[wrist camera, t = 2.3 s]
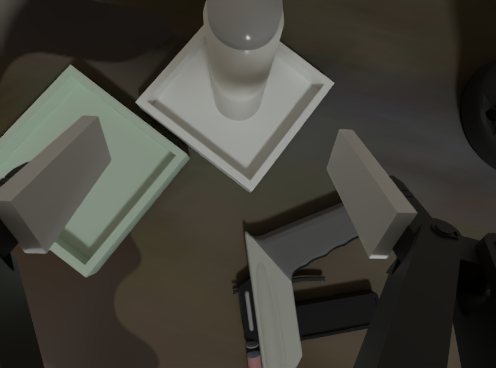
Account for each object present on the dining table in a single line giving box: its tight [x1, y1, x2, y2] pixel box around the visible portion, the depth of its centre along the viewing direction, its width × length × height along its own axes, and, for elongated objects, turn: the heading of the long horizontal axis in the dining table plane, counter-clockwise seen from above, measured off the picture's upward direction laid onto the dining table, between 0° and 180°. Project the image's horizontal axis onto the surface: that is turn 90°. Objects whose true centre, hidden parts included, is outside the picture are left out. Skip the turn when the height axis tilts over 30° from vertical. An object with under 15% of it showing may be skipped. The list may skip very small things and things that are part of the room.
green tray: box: [0, 65, 190, 277], centre depth 26 cm, size 15×15×2 cm
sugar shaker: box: [203, 0, 284, 121], centre depth 22 cm, size 5×5×13 cm
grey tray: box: [136, 25, 334, 193], centre depth 28 cm, size 15×15×2 cm
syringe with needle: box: [233, 202, 379, 368], centre depth 26 cm, size 31×2×15 cm
